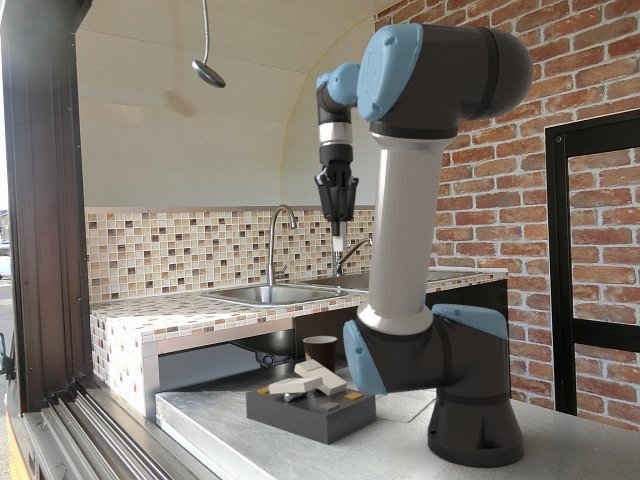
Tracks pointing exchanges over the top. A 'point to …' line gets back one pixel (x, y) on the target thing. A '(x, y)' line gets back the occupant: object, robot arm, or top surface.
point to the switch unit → (312, 412)
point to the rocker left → (295, 385)
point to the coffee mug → (321, 350)
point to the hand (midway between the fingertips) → (340, 251)
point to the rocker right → (315, 369)
